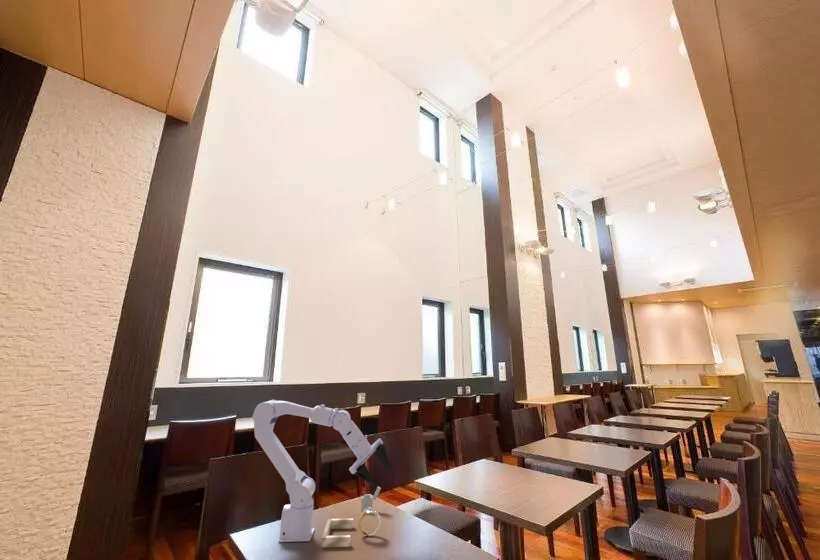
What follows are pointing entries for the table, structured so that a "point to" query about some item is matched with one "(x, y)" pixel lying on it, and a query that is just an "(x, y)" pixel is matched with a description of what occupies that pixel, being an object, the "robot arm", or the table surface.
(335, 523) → the keeper
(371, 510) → the ring
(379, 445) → the robot arm
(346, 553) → the table surface
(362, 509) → the lighter
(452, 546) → the table surface
